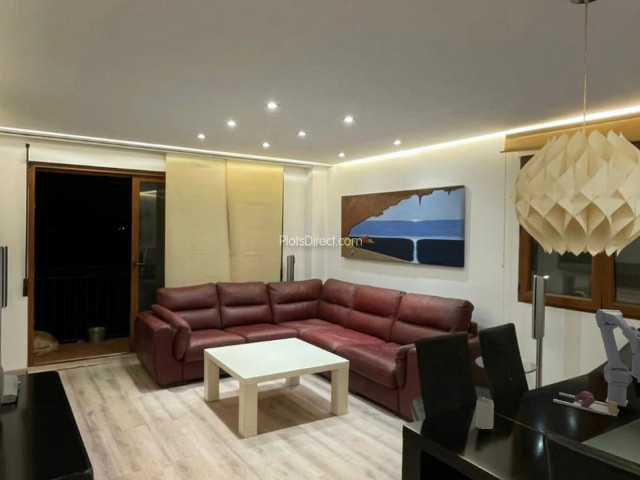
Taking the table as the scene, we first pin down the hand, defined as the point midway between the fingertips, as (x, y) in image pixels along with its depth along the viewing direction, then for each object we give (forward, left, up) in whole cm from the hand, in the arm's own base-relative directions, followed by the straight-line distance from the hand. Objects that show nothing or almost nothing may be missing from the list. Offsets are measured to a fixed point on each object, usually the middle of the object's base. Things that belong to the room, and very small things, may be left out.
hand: (638, 394), depth 191 cm
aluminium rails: (+3, -21, -9) cm, 23 cm away
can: (+62, -45, -10) cm, 77 cm away
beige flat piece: (+3, -15, -9) cm, 18 cm away
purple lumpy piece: (+3, -20, -9) cm, 22 cm away
